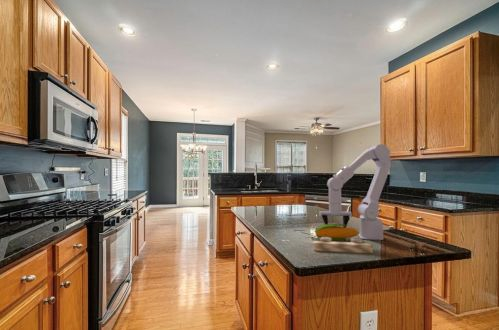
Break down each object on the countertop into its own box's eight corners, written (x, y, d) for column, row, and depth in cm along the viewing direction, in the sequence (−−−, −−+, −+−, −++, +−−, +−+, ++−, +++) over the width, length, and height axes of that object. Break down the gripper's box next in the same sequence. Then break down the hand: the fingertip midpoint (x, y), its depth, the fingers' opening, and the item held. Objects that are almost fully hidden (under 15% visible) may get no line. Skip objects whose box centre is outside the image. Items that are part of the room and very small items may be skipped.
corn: (313, 221, 118) (355, 221, 118) (313, 237, 119) (355, 237, 118) (317, 226, 111) (362, 225, 110) (317, 243, 111) (362, 242, 111)
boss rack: (368, 247, 103) (368, 238, 103) (373, 253, 96) (372, 243, 96) (313, 245, 107) (313, 236, 107) (314, 250, 100) (314, 240, 101)
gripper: (349, 201, 121) (350, 229, 121) (318, 201, 124) (319, 228, 124) (352, 203, 114) (353, 233, 114) (319, 203, 117) (320, 232, 117)
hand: (335, 231), depth 119 cm, fingers open, 7 cm apart
